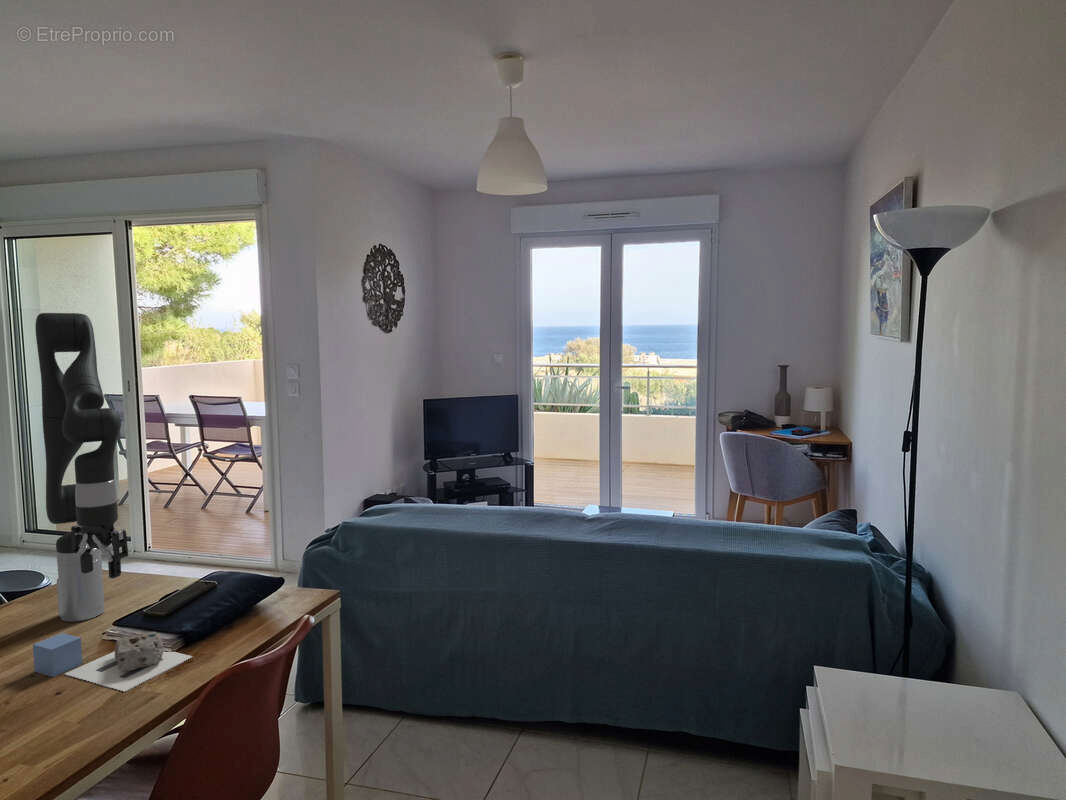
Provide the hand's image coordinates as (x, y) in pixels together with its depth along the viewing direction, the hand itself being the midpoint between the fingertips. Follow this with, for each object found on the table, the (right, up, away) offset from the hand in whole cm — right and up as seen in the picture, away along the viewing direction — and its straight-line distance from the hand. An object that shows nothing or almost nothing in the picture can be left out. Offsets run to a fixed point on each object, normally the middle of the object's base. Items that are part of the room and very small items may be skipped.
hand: (101, 574), depth 149 cm
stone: (+9, -18, -1) cm, 20 cm away
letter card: (+8, -19, -3) cm, 20 cm away
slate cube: (-6, -19, -4) cm, 20 cm away
